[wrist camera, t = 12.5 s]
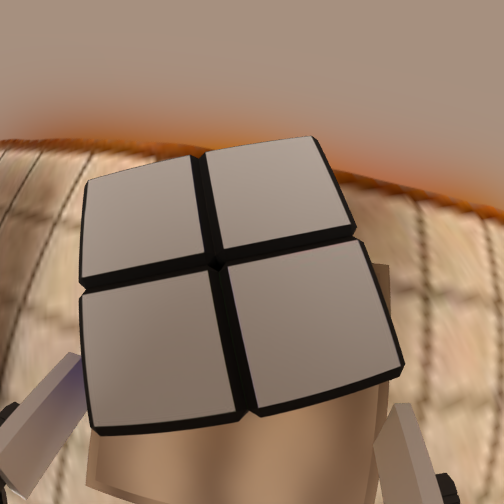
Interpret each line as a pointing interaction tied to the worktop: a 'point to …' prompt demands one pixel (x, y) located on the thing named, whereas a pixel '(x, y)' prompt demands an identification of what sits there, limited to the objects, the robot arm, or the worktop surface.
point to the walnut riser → (253, 455)
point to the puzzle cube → (225, 291)
